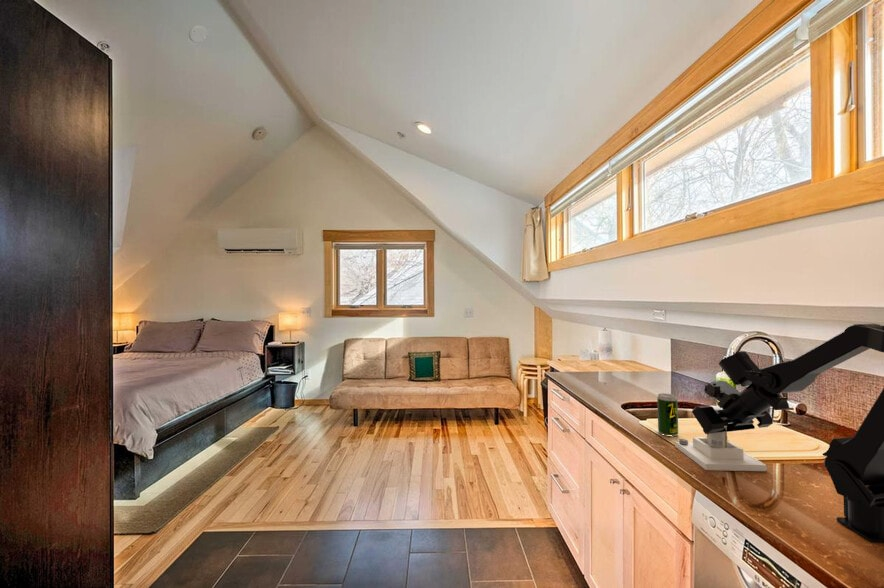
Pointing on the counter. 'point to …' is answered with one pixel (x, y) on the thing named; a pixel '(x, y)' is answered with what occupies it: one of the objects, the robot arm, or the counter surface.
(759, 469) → the housing
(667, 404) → the beer can
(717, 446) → the sprinkles bottle
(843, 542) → the counter surface
